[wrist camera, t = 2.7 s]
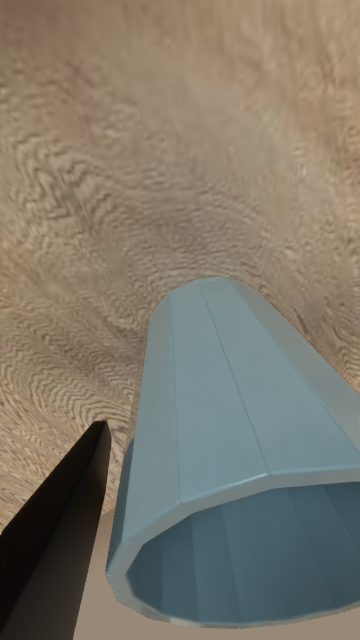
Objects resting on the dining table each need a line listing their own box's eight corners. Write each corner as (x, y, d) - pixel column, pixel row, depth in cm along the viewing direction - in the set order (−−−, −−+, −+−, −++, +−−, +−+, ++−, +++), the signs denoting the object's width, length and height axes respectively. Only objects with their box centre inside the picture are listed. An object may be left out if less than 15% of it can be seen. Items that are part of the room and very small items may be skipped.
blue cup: (285, 271, 11) (564, 449, 3) (268, 385, 15) (391, 615, 7) (136, 281, 11) (63, 491, 3) (151, 394, 14) (134, 639, 6)
